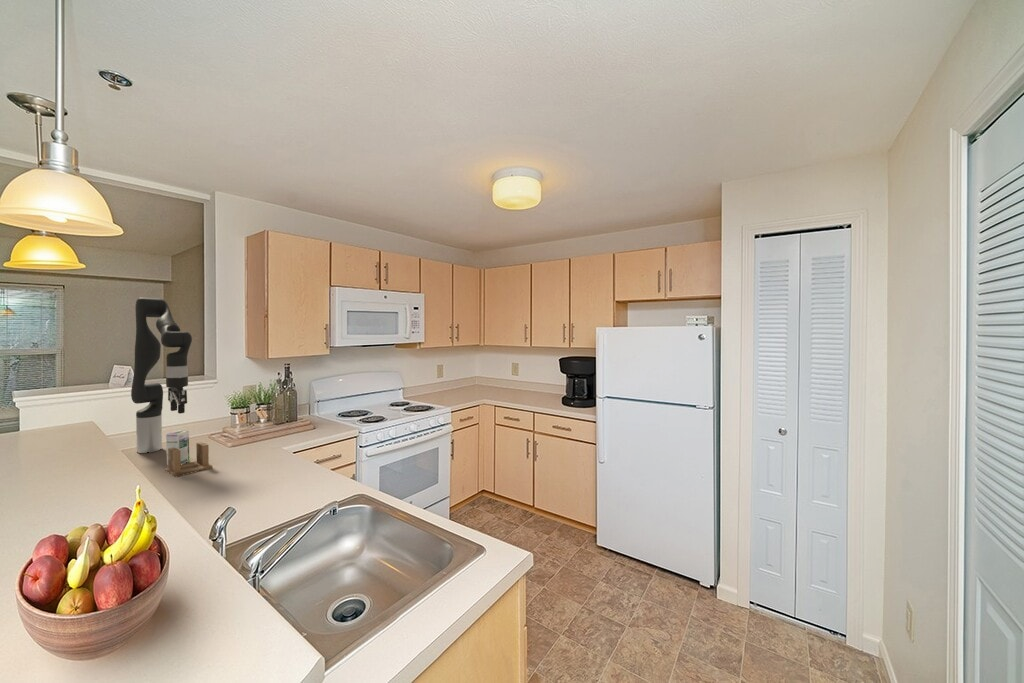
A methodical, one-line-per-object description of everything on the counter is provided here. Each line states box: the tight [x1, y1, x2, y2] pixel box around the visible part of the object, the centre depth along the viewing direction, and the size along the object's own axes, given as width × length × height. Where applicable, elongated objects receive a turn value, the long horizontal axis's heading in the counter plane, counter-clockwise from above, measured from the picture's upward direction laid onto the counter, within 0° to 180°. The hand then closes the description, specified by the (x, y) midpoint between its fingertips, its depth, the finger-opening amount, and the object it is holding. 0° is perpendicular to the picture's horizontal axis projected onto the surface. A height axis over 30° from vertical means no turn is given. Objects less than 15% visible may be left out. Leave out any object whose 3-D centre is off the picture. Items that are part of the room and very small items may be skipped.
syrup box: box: [165, 429, 190, 466], centre depth 179 cm, size 6×6×14 cm
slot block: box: [164, 441, 213, 478], centre depth 172 cm, size 12×13×10 cm
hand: (177, 411), depth 178 cm, fingers open, 8 cm apart
